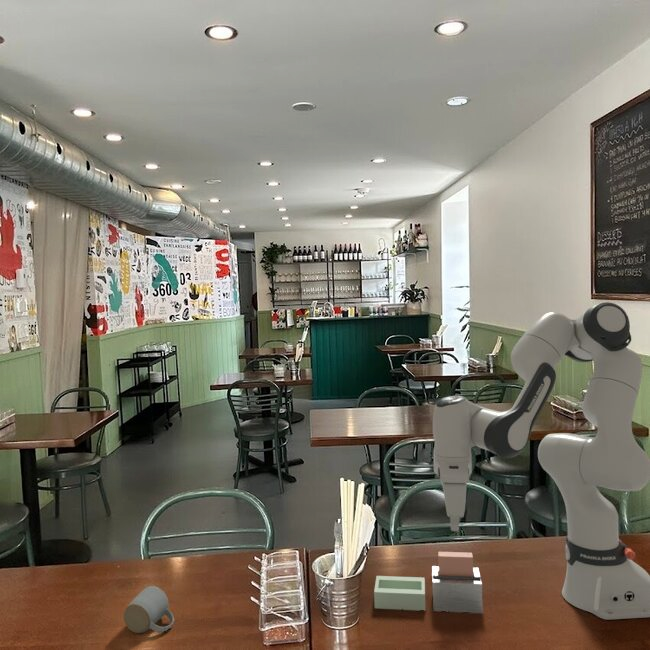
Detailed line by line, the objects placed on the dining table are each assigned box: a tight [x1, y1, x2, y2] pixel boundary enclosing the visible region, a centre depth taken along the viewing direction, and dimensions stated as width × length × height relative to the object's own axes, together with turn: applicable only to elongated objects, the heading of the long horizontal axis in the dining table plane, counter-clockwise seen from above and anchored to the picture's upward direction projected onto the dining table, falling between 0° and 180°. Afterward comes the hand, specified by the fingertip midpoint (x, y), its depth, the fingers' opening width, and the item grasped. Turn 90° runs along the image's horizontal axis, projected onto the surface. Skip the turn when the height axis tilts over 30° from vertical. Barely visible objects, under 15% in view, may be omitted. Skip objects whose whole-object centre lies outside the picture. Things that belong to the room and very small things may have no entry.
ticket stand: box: [373, 575, 427, 612], centre depth 140 cm, size 12×8×4 cm, turn 81°
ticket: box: [437, 551, 474, 577], centre depth 137 cm, size 8×2×10 cm, turn 81°
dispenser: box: [431, 565, 484, 614], centre depth 137 cm, size 11×8×8 cm
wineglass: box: [333, 517, 343, 540], centre depth 161 cm, size 6×6×12 cm
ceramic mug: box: [123, 585, 175, 634], centre depth 133 cm, size 11×8×8 cm
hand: (453, 522), depth 137 cm, fingers open, 8 cm apart
